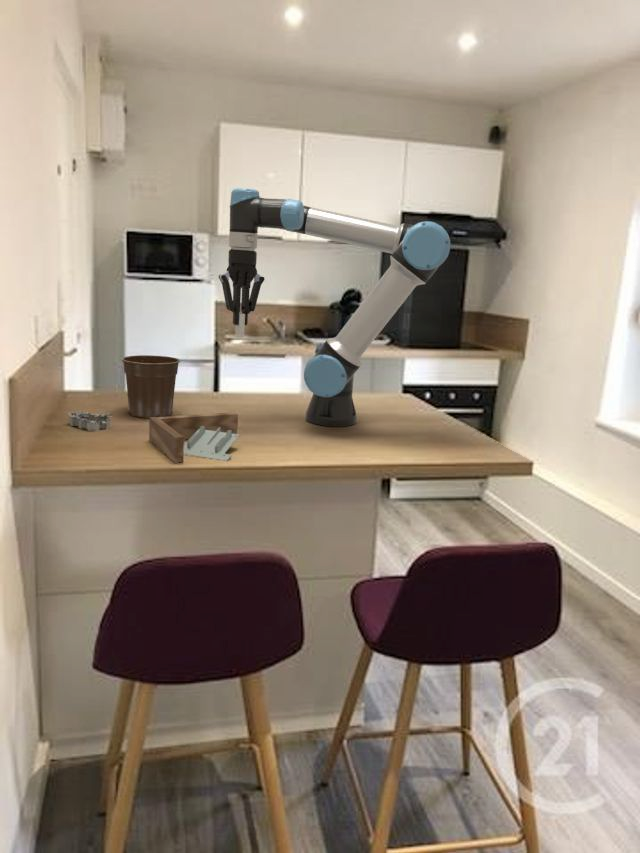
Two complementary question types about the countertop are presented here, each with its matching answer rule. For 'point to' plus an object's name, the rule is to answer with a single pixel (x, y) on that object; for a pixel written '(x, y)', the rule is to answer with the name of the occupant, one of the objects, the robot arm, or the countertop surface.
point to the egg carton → (90, 420)
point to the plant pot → (150, 384)
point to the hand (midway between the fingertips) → (239, 336)
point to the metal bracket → (210, 444)
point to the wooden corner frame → (186, 430)
